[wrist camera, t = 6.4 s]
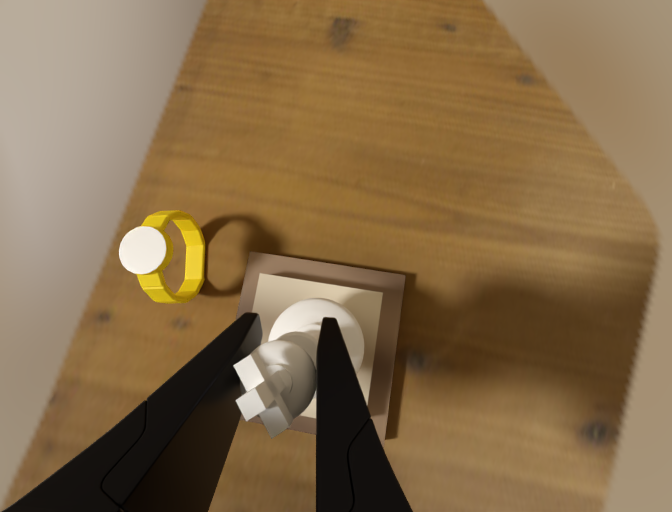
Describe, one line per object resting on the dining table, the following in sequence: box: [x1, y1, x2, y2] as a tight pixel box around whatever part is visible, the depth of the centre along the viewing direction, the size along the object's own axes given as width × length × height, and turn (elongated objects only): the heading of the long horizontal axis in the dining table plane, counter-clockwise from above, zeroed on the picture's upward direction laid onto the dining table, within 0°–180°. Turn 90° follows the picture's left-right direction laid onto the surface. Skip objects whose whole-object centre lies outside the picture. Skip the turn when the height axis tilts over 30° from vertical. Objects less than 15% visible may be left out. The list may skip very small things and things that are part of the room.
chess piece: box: [233, 298, 364, 439], centre depth 11 cm, size 5×5×10 cm
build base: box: [236, 251, 406, 448], centre depth 20 cm, size 11×11×2 cm
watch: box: [119, 210, 206, 304], centre depth 20 cm, size 6×3×6 cm, turn 2°
